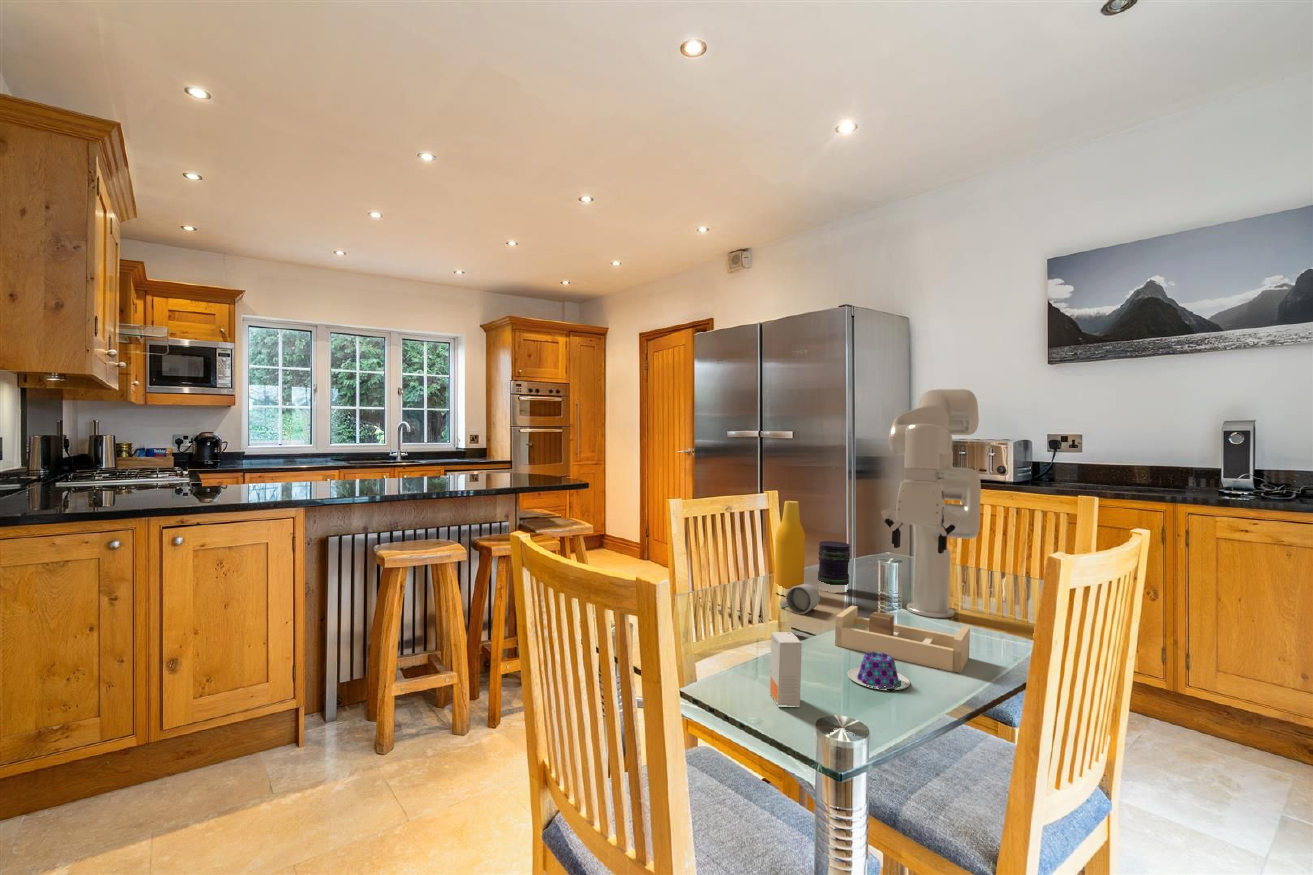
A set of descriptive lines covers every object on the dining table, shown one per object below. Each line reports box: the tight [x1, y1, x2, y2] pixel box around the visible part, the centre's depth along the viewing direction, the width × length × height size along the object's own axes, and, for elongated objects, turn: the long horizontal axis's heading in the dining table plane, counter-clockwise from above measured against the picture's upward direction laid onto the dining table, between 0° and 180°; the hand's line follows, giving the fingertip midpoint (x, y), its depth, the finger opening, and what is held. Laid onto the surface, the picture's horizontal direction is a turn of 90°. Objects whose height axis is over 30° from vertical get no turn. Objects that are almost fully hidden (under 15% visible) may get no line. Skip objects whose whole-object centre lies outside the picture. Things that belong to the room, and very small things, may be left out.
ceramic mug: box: [779, 583, 820, 615], centre depth 176 cm, size 11×8×8 cm
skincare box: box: [769, 631, 803, 707], centre depth 115 cm, size 6×4×12 cm
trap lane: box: [834, 605, 971, 674], centre depth 144 cm, size 12×27×7 cm, turn 55°
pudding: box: [847, 652, 911, 691], centre depth 126 cm, size 12×12×5 cm
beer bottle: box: [773, 500, 806, 589], centre depth 195 cm, size 9×9×29 cm
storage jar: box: [817, 540, 851, 585], centre depth 202 cm, size 10×10×15 cm
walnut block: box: [868, 611, 895, 636], centre depth 146 cm, size 4×4×4 cm
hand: (918, 550), depth 144 cm, fingers open, 9 cm apart
